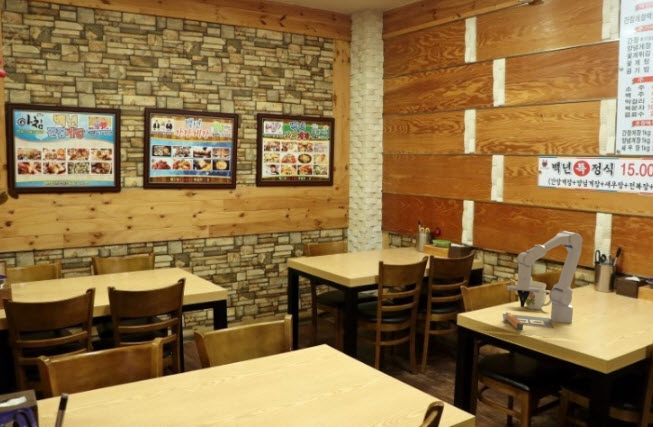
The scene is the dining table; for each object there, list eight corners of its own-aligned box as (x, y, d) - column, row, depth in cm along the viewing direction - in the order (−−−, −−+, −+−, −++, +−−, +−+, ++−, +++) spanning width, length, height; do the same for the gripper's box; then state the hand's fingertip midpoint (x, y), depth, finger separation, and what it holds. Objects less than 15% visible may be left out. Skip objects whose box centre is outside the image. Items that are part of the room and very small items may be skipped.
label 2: (542, 322, 270) (542, 320, 270) (544, 325, 264) (544, 324, 264) (529, 320, 271) (529, 319, 271) (530, 324, 266) (530, 322, 266)
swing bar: (506, 319, 269) (507, 314, 268) (512, 319, 269) (512, 314, 268) (517, 329, 252) (518, 324, 252) (523, 330, 252) (524, 324, 252)
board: (549, 320, 278) (549, 310, 277) (554, 330, 260) (554, 320, 260) (502, 315, 283) (502, 306, 283) (504, 325, 266) (504, 315, 265)
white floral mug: (544, 313, 289) (546, 287, 288) (514, 305, 304) (516, 280, 303) (557, 311, 296) (559, 285, 294) (527, 303, 310) (529, 278, 309)
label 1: (527, 320, 272) (527, 319, 272) (528, 324, 266) (528, 322, 266) (514, 319, 273) (514, 317, 273) (514, 322, 267) (515, 321, 267)
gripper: (539, 277, 270) (537, 305, 271) (507, 275, 273) (505, 302, 274) (541, 280, 263) (539, 309, 264) (508, 278, 266) (506, 306, 268)
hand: (522, 306), depth 269 cm, fingers closed
